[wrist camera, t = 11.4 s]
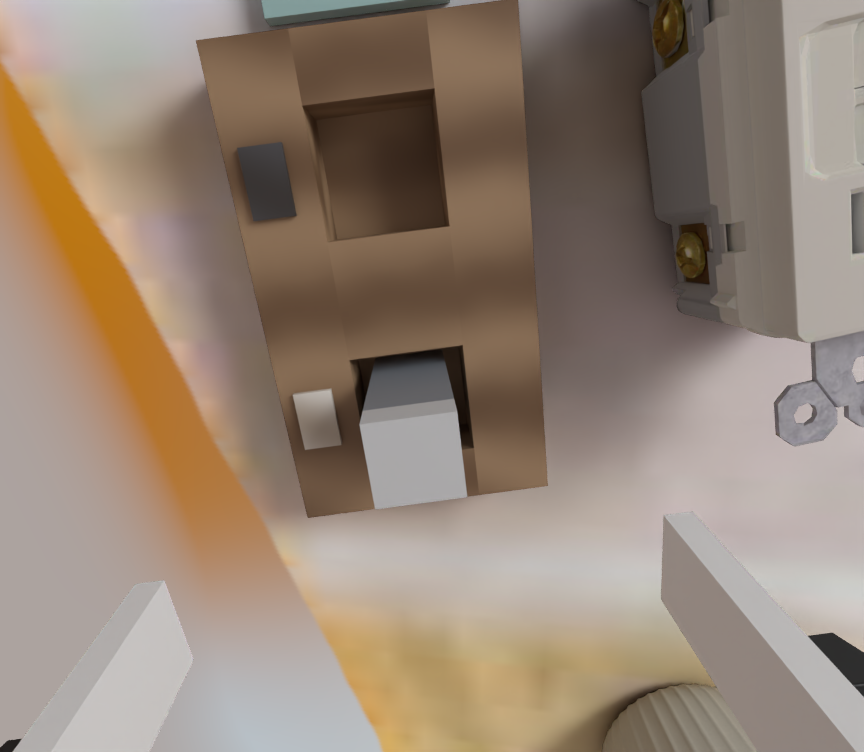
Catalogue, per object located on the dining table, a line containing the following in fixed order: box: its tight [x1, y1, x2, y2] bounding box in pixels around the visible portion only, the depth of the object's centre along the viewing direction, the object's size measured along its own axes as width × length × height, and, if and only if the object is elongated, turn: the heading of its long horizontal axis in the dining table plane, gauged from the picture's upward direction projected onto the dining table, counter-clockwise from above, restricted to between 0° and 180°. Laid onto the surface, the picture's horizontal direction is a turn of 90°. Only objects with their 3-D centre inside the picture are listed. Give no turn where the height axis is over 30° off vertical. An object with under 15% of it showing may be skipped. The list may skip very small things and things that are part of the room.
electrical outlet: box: [637, 0, 864, 446], centre depth 23 cm, size 12×28×10 cm, turn 13°
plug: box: [359, 349, 467, 509], centre depth 26 cm, size 4×4×10 cm
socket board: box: [196, 0, 548, 518], centre depth 27 cm, size 24×14×4 cm, turn 7°
